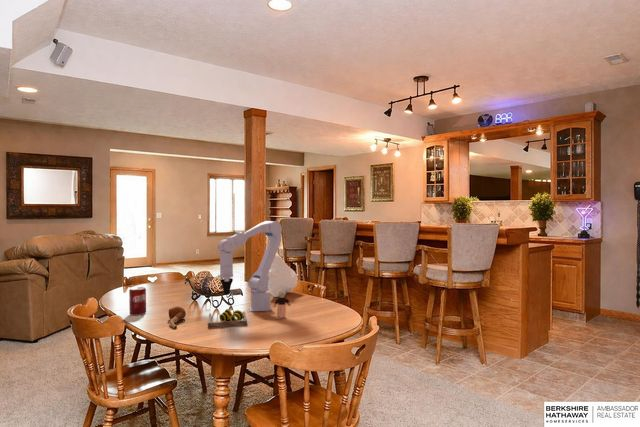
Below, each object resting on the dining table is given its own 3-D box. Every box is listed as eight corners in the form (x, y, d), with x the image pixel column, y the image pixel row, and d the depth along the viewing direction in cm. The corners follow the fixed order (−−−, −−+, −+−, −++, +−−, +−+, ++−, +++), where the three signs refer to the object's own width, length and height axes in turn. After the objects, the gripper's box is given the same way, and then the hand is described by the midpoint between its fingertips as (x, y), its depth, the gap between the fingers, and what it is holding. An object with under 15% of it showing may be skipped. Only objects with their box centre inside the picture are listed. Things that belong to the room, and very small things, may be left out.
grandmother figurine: (275, 320, 186) (275, 291, 186) (272, 318, 189) (272, 290, 189) (291, 318, 189) (291, 289, 189) (288, 316, 193) (288, 288, 193)
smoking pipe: (185, 317, 192) (185, 305, 192) (188, 328, 175) (188, 314, 175) (168, 319, 190) (168, 306, 190) (169, 330, 172) (169, 315, 172)
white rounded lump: (283, 277, 260) (262, 248, 249) (304, 275, 251) (283, 244, 240) (266, 309, 241) (243, 278, 230) (288, 307, 233) (265, 275, 222)
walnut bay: (245, 315, 194) (245, 311, 194) (247, 325, 178) (247, 320, 178) (209, 318, 190) (209, 313, 190) (207, 327, 174) (207, 323, 174)
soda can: (149, 312, 201) (149, 287, 201) (137, 316, 194) (136, 290, 194) (138, 311, 204) (138, 286, 204) (126, 314, 197) (125, 289, 197)
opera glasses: (219, 323, 185) (217, 312, 184) (226, 318, 190) (224, 307, 189) (237, 325, 181) (236, 314, 180) (244, 320, 186) (243, 309, 185)
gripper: (217, 263, 202) (217, 292, 202) (217, 267, 188) (217, 298, 188) (232, 263, 204) (232, 291, 204) (233, 267, 189) (233, 297, 190)
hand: (226, 294), depth 196 cm, fingers closed
